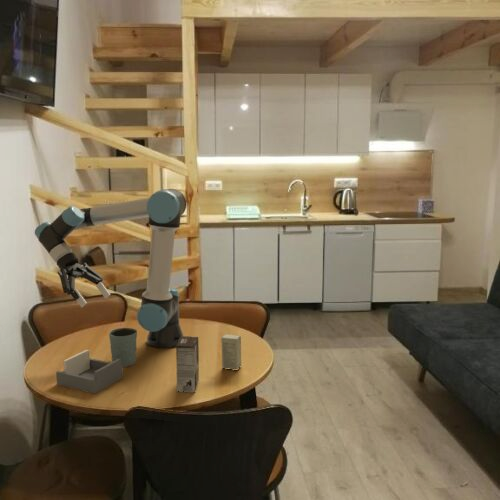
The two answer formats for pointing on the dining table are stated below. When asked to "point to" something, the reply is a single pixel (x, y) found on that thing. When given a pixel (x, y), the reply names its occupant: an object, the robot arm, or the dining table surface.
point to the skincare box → (231, 351)
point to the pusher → (77, 363)
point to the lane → (93, 376)
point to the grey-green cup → (123, 345)
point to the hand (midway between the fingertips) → (96, 301)
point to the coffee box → (187, 364)
